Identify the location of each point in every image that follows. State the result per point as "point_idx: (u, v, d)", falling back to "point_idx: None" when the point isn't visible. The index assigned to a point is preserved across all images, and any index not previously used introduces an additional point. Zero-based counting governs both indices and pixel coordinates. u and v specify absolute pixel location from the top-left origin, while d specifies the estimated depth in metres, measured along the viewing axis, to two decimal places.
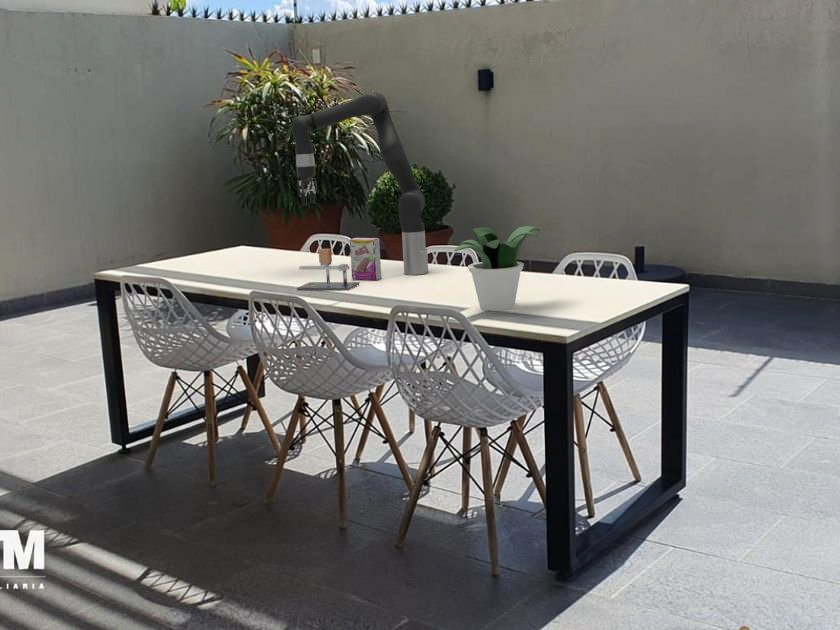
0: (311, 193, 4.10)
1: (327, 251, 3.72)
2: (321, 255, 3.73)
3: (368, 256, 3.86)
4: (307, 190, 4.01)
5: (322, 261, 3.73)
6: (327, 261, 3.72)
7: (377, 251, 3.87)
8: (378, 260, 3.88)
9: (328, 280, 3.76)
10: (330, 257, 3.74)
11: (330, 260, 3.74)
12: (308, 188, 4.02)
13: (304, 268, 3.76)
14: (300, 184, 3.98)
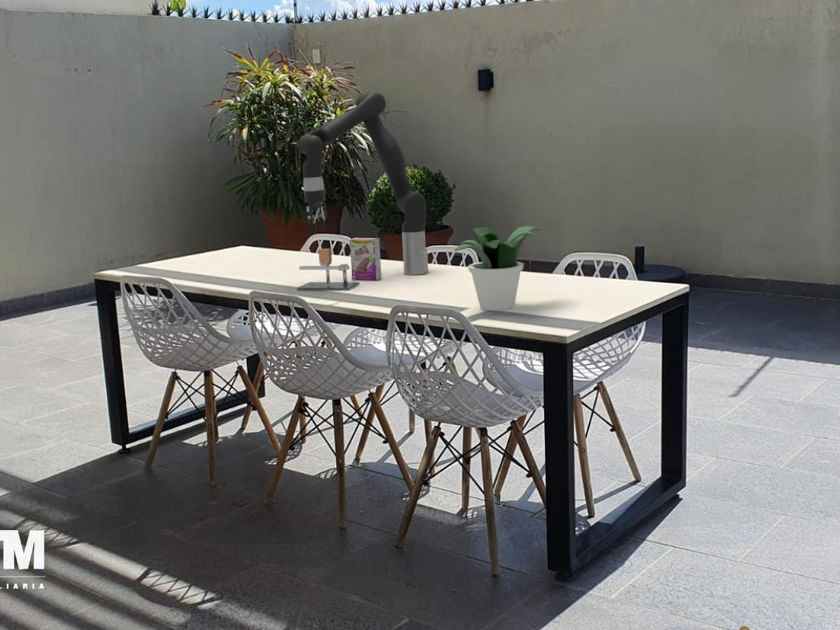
0: (320, 219, 3.77)
1: (327, 251, 3.72)
2: (321, 255, 3.73)
3: (368, 257, 3.86)
4: (316, 216, 3.68)
5: (322, 261, 3.73)
6: (327, 261, 3.72)
7: (377, 251, 3.87)
8: (378, 260, 3.88)
9: (328, 280, 3.76)
10: (330, 257, 3.74)
11: (330, 260, 3.74)
12: (317, 214, 3.69)
13: (304, 268, 3.76)
14: (308, 210, 3.65)
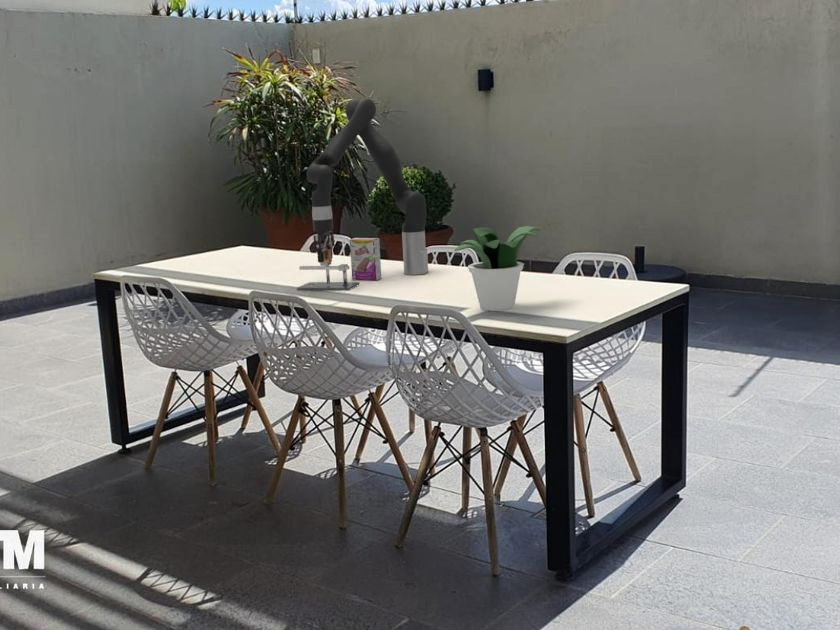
0: (328, 247, 3.77)
1: (327, 251, 3.72)
2: None
3: (368, 257, 3.86)
4: (324, 245, 3.69)
5: None
6: (327, 261, 3.72)
7: (377, 251, 3.87)
8: (378, 260, 3.88)
9: (328, 280, 3.76)
10: (330, 257, 3.74)
11: (330, 260, 3.74)
12: (325, 243, 3.70)
13: (304, 268, 3.76)
14: (317, 239, 3.66)
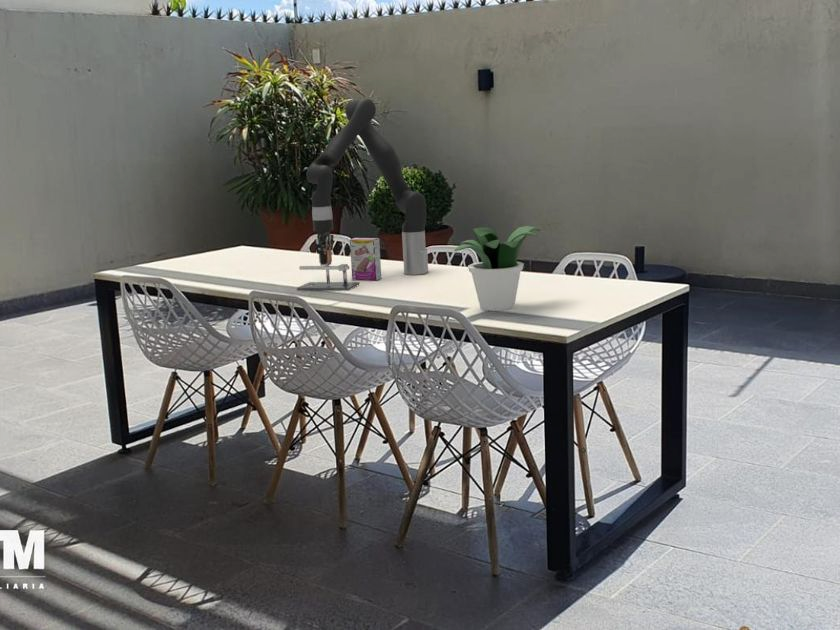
0: None
1: (327, 251, 3.72)
2: None
3: (368, 257, 3.86)
4: (326, 247, 3.70)
5: None
6: (327, 261, 3.72)
7: (377, 251, 3.87)
8: (378, 260, 3.88)
9: (328, 280, 3.76)
10: (330, 257, 3.74)
11: (330, 260, 3.74)
12: (326, 244, 3.71)
13: (304, 268, 3.76)
14: (318, 243, 3.67)
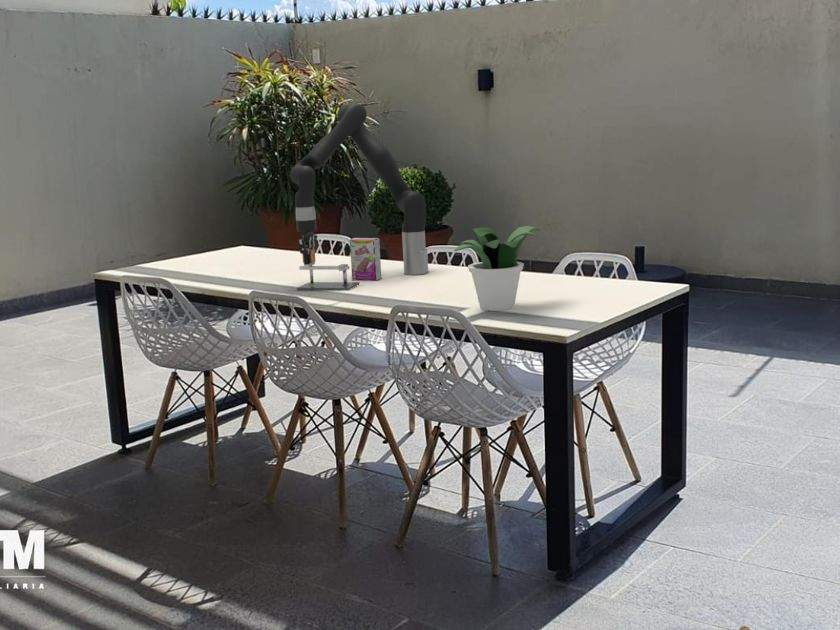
0: None
1: (310, 251, 3.74)
2: None
3: (368, 257, 3.86)
4: (309, 247, 3.72)
5: None
6: (310, 261, 3.75)
7: (377, 251, 3.87)
8: (378, 260, 3.88)
9: (312, 280, 3.78)
10: (314, 257, 3.76)
11: (314, 260, 3.76)
12: (310, 244, 3.73)
13: (304, 268, 3.76)
14: (301, 243, 3.69)
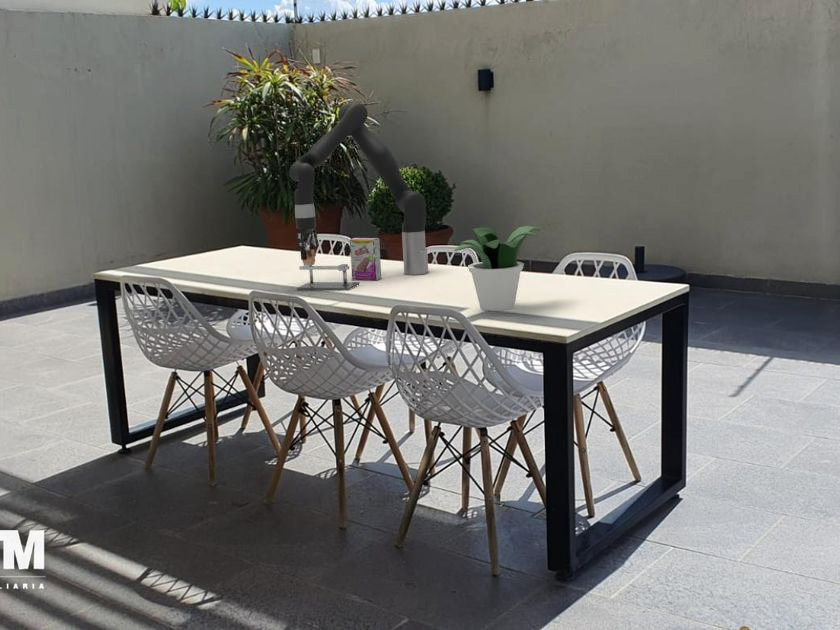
0: (311, 245, 3.79)
1: (310, 251, 3.74)
2: None
3: (368, 257, 3.86)
4: (307, 243, 3.71)
5: (305, 261, 3.75)
6: (310, 261, 3.75)
7: (377, 251, 3.87)
8: (378, 260, 3.88)
9: (311, 280, 3.78)
10: (313, 257, 3.76)
11: (313, 260, 3.76)
12: (308, 241, 3.72)
13: (304, 268, 3.76)
14: (299, 237, 3.68)
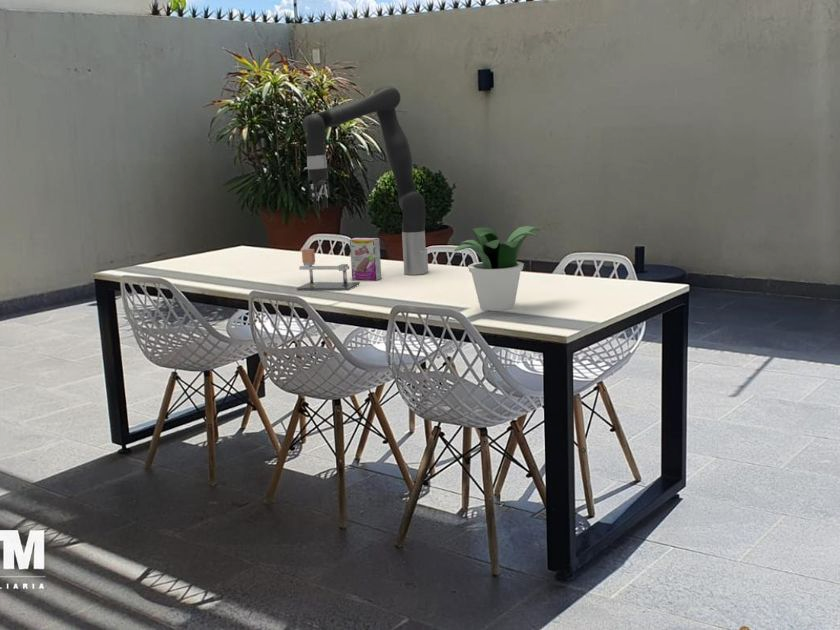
0: (323, 197, 3.85)
1: (310, 251, 3.74)
2: (304, 255, 3.75)
3: (368, 257, 3.86)
4: (319, 194, 3.76)
5: (305, 261, 3.75)
6: (310, 261, 3.75)
7: (377, 251, 3.87)
8: (378, 260, 3.88)
9: (311, 280, 3.78)
10: (313, 257, 3.76)
11: (313, 260, 3.76)
12: (320, 192, 3.77)
13: (304, 268, 3.76)
14: (312, 188, 3.73)
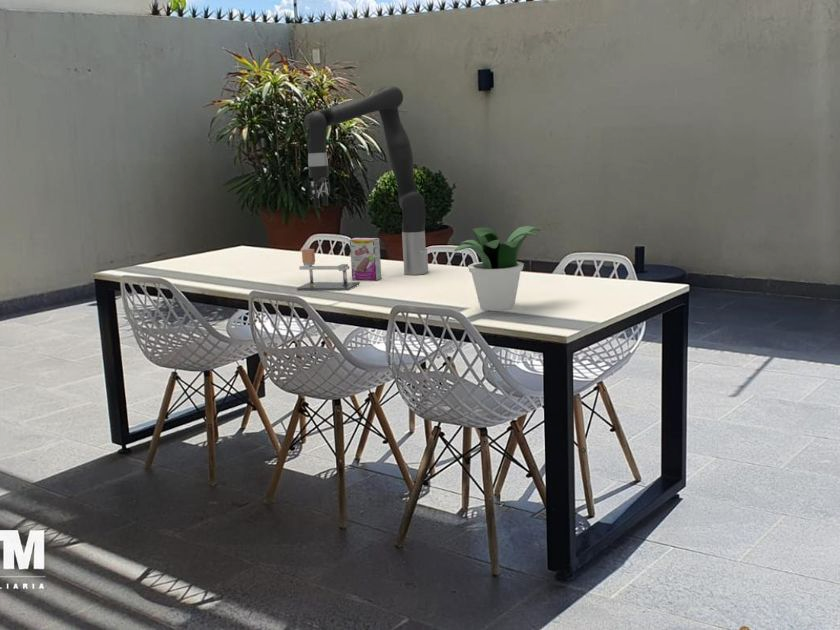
0: (324, 194, 3.85)
1: (310, 251, 3.74)
2: (304, 255, 3.75)
3: (368, 257, 3.86)
4: (320, 191, 3.77)
5: (305, 261, 3.75)
6: (310, 261, 3.75)
7: (377, 251, 3.87)
8: (378, 260, 3.88)
9: (311, 280, 3.78)
10: (313, 257, 3.76)
11: (313, 260, 3.76)
12: (321, 189, 3.78)
13: (304, 268, 3.76)
14: (312, 185, 3.74)
